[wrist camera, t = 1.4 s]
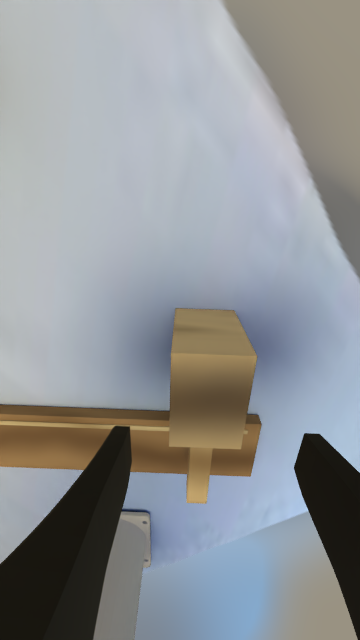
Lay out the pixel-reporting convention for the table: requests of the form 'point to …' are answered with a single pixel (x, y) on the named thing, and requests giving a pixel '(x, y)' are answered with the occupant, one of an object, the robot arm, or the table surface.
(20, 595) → the robot arm
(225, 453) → the brown wooden flat strip
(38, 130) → the table surface
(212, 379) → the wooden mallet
